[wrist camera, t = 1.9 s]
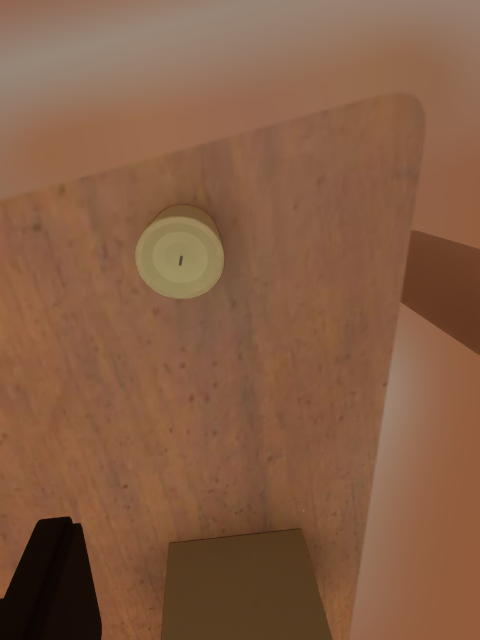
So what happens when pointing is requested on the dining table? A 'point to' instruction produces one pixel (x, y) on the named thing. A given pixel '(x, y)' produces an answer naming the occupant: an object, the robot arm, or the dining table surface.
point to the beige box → (243, 590)
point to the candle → (180, 253)
